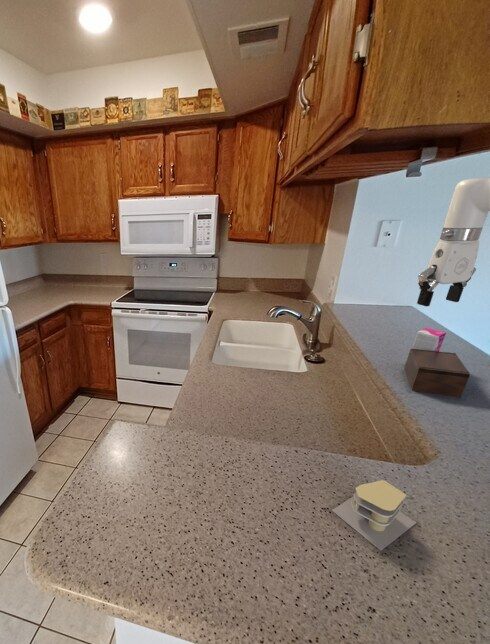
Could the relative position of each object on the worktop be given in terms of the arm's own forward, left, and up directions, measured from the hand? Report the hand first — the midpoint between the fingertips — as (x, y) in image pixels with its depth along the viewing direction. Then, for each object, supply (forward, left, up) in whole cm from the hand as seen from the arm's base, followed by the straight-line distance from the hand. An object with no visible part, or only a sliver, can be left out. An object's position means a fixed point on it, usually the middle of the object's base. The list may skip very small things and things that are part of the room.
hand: (437, 303), depth 89 cm
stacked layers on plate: (+15, +60, -23) cm, 66 cm away
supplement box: (-3, -10, -23) cm, 25 cm away
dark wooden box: (-4, +2, -23) cm, 23 cm away
